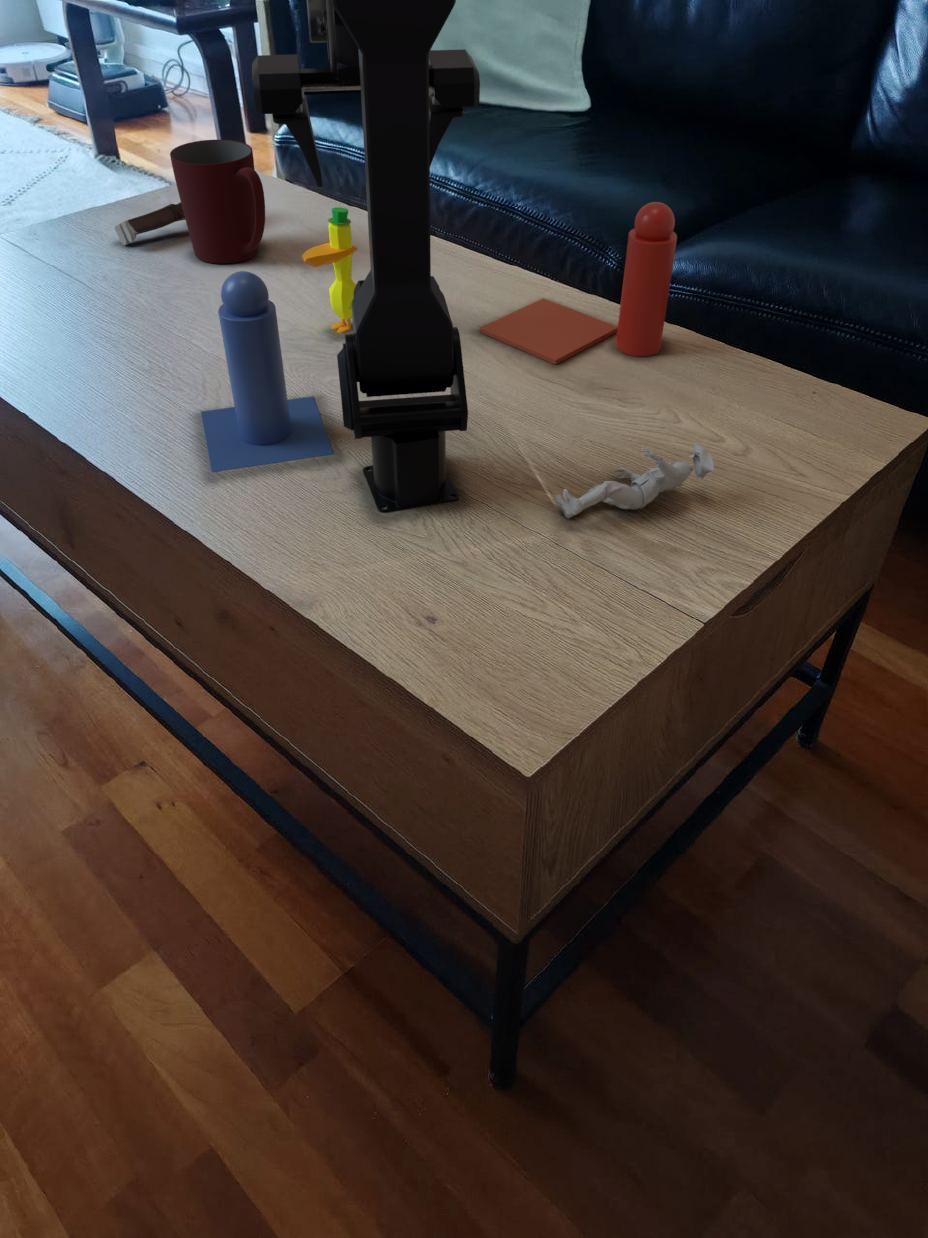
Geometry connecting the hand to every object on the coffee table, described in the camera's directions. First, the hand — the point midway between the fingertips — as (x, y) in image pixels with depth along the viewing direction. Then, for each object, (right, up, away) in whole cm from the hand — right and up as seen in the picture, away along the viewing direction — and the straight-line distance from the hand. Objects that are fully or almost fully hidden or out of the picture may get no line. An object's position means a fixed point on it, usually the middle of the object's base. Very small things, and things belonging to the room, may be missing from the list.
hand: (370, 183), depth 88 cm
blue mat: (-8, -24, -5) cm, 26 cm away
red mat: (+17, -10, +10) cm, 23 cm away
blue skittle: (-8, -24, -5) cm, 26 cm away
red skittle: (+26, -13, +8) cm, 30 cm away
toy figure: (-4, -11, +10) cm, 15 cm away
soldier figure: (+22, -31, -12) cm, 40 cm away
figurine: (-25, +7, +30) cm, 39 cm away
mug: (-18, +3, +25) cm, 31 cm away
